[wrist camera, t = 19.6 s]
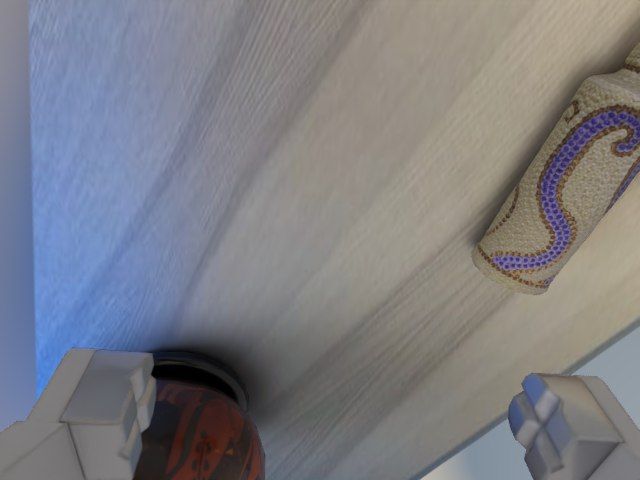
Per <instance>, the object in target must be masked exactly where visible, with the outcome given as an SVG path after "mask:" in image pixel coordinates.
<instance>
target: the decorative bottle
mask: <svg viewBox="0 0 640 480" xmlns="http://www.w3.org/2000/svg"><path fill="white" fill-rule="evenodd" d="M639 171H640V42H639V43H638V44H637V45H636V46H635V47H634V49H633V50H632V51H631V53H630V54H629V56H628V57H627V58H626V60H625V63H624V66H623V68H622V69H620V70H619V71H617V72H615V73H609V74H599V75H592V76H590V77H589V78H587V79H586V80H584V81H583V83H582V85H581V86H580V87H579V89H578V90H577V92H576V93H575V95H574V97H573V98H572V99H571V101H570V103H569V105H568V106H567V107H566V109H565V111H564V112H563V114H562V116H561V118H560V120H559V121H558V122H557V124H556V126H555V127H554V129H553V130H552V132H551V133H550V135H549V136H548V138H547V139H546V141H545V143H544V144H543V146H542V147H541V149H540V150H539V152H538V154H537V155H536V156H535V158H534V159H533V161H532V162H531V164H530V165H529V167H528V168H527V170H526V172H525V173H524V175H523V177H522V178H521V179H520V181H519V182H518V183H517V185H516V186H515V188H514V189H513V191H512V192H511V193H510V195H509V196H508V198H507V199H506V201H505V203H504V204H503V206H502V207H501V209H500V211H499V212H498V214H497V216H496V217H495V219H494V221H493V222H492V223H491V225H490V227H489V228H488V230H487V231H486V233H485V235H484V237H483V238H482V239H481V241H480V242H479V243H478V244H477V245H476V246H475V247H474V249H473V251H472V253H471V254H472V255H471V257H472V260H473V262H474V264H475V266H476V267H477V268H478V269H479V270H480V271H482V272H483V273H484V274H485V275H486V276H487V277H489V278H490V279H491V280H493V281H495V282H497V283H498V284H501V285H502V286H504V287H506V288H508V289H511V290H514V291H517V292H519V293H525V294H531V295H540V294H542V293H544V292H546V291H547V290H548V287H549V284H550V283H551V282H552V280H553V279H554V278H555V276H556V275H557V274H558V273H559V271H560V270H561V269H562V268H563V266H564V265H565V264H566V263H567V261H568V260H569V259H570V258H571V257H572V255H573V254H574V253H575V252H576V251H577V250H578V248H579V247H580V246H581V244H582V243H583V242H584V241H585V240H586V238H587V237H588V236H589V234H590V233H591V232H592V231H593V229H594V228H595V226H596V225H597V223H598V222H599V221H600V220H601V218H602V217H603V216H604V215H605V214H606V213H607V212H608V210H609V209H610V208H611V207H612V206H613V204H614V203H615V202H616V201H617V200H618V198H619V197H620V196H621V195H622V193H623V192H624V191H625V190H626V188H627V187H628V185H629V184H630V182H631V181H632V180H633V178H634V177H635V176H636V175H637V173H638V172H639Z"/></svg>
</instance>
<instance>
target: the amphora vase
mask: <svg viewBox="0 0 640 480" xmlns="http://www.w3.org/2000/svg"><path fill="white" fill-rule="evenodd" d="M151 354H152V356H153V362H154V366H153V369H152V372H151V376H152V377H153V378H155V379H156V401H155V406H154V412H153V416H152V419H151V422H150V426H149V427H148V428H147V429H145V430H144V431H143V432H142V433H141V438H142V445H143V448H142V451H141V454H140V457H139V460H138V463H137V466H136V470H135V473H134V476H133V479H132V480H265V453H264V449H263V446H262V442H261V439H260V436H259V434H258V431H257V428H256V426H255V424H254V423H253V421H252V420H251V418H250V416H249V415H248V414H247V413H248V407H249V395H248V393H247V390H246V387H245V385H244V383H243V382H242V381H241V380H240V379H239V377H238V376H237V375H236V374H235V373H234V372H233V371H232V370H230V369H229V368H227V367H226V366H225V365H223V364H222V363H220V362H217V361H215V360H213V359H211V358H208V357H206V356H202V355H198V354H193V353H189V352H175V351H167V352H159V353H151Z"/></svg>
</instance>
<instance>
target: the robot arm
mask: <svg viewBox="0 0 640 480" xmlns="http://www.w3.org/2000/svg"><path fill="white" fill-rule="evenodd" d="M153 366H154V362H153V356H152V354H151V353H143V352H130V351H117V350H105V349H88V348H74V347H72V348H71V349H70V350H69V351H68V352H67V353H66V354H65V355H64V357H63V358H62V360H61V362H60V363H59V365H58V367H57V368H56V370H55V372H54V373H53V375H52V377H51V379H50V380H49V382H48V384H47V385H46V387H45V389H44V390H43V392H42V394H41V396H40V397H39V399H38V401H37V402H36V404H35V406H34V407H33V409H32V411H31V412H30V414H29V416H28V418H27V419H26V421H16V422H14V423H13V424H12V425H10V426H9V427H7V428H6V429H4V430H3V431H2V432H0V480H132V479H133V476H134V473H135V470H136V466H137V463H138V460H139V457H140V454H141V451H142V448H143V445H142V438H141V433H142V432H143V431H144V430H145V429H147V428H148V427H149V426H150V422H151V419H152V416H153V412H154V406H155V401H156V379H155V378H153V377H152V376H151V372H152V369H153ZM522 387H523V389H524V391H522V392H521V393H519V394H517V395H516V396H514V397H513V399H512V401H511V403H510V405H509V414H508V419H509V424H510V428H511V431H512V433H513V435H514V437H515V440H517V441H518V442H519V443H520V444H521V445H522V446H523V447H524V448H525V449H526V453H525V458H524V459H525V462H526V464H527V466H528V468H529V471H530V473H531V475H532V477H533V479H534V480H640V430H639V429H638V427H637V426H636V425H635V423H634V422H633V420H632V419H631V418H630V416H629V415H628V414H627V412H626V411H625V410H624V408H623V407H622V405H621V404H620V403H619V401H618V400H617V398H616V397H615V396H614V394H613V393H612V392H611V390H610V389H609V388H608V386H607V385H606V383H605V382H604V381H603V380H601V379H600V378H598V377H597V376H580V375H567V374H542V373H531V374H529V375H528V376H526V377H525V379H524V380H523V382H522Z"/></svg>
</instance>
